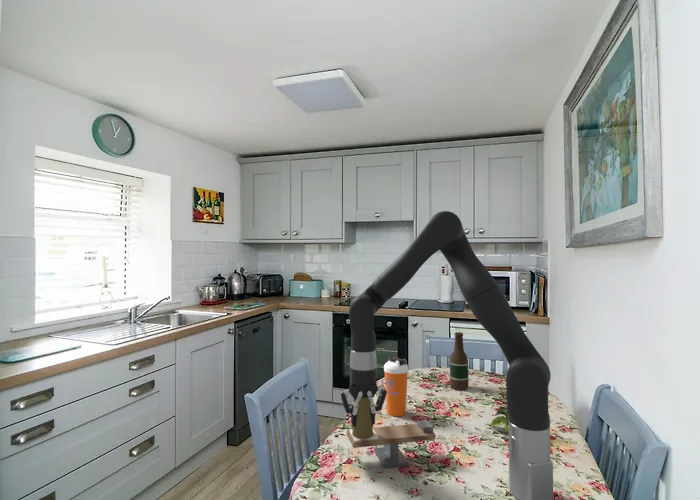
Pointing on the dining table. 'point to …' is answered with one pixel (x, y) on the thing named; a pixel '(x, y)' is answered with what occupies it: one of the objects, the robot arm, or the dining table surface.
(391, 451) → the pivot stand
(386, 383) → the shaker bottle
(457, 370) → the beer bottle
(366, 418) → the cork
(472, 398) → the dining table surface
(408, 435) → the seesaw board
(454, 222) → the robot arm
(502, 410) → the passion flower
